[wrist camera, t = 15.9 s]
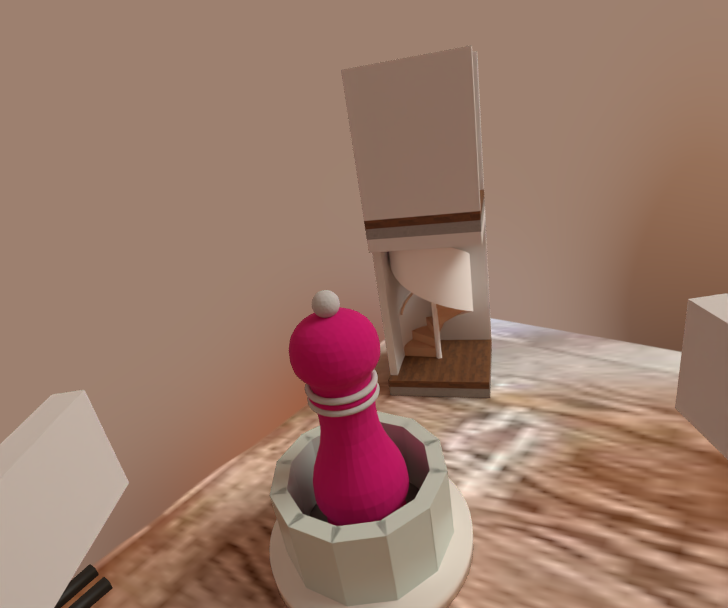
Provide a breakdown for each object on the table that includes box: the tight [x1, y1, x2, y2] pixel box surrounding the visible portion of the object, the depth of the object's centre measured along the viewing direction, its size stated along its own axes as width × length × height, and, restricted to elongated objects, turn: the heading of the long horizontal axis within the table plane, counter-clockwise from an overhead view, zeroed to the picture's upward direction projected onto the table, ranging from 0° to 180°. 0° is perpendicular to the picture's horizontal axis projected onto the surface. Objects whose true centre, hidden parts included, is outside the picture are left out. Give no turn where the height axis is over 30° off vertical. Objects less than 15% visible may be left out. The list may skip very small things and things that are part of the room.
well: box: [269, 412, 474, 608], centre depth 37 cm, size 16×16×8 cm
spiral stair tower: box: [341, 46, 492, 398], centre depth 52 cm, size 11×11×35 cm
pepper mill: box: [289, 290, 409, 526], centre depth 33 cm, size 7×7×20 cm
